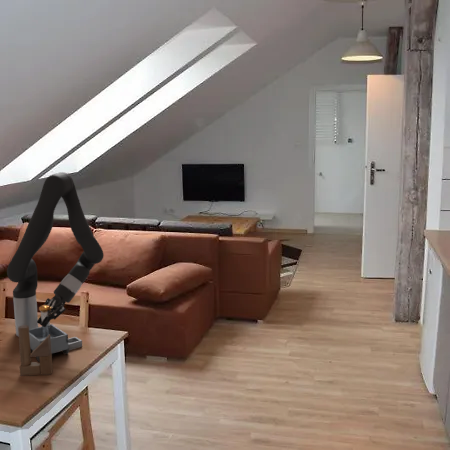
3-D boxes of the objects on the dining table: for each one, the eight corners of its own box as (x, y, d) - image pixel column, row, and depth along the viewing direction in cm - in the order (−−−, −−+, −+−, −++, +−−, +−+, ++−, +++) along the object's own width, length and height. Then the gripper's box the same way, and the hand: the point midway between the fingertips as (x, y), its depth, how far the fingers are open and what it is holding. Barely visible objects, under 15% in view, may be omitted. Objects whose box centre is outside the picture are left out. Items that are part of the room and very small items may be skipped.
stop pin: (39, 335, 205) (37, 306, 202) (49, 332, 207) (47, 304, 205) (43, 338, 202) (41, 309, 199) (53, 335, 204) (51, 306, 202)
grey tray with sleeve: (25, 351, 207) (24, 330, 206) (71, 338, 220) (69, 319, 218) (40, 363, 196) (39, 342, 195) (87, 349, 209) (86, 329, 207)
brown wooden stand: (50, 374, 188) (47, 327, 184) (19, 376, 187) (16, 328, 183) (52, 370, 191) (49, 323, 188) (22, 371, 190) (19, 324, 187)
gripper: (54, 279, 211) (26, 315, 205) (69, 286, 200) (40, 324, 195) (67, 289, 215) (40, 324, 209) (82, 297, 205) (55, 334, 199)
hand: (40, 324), depth 202 cm, fingers closed on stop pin, 3 cm apart
